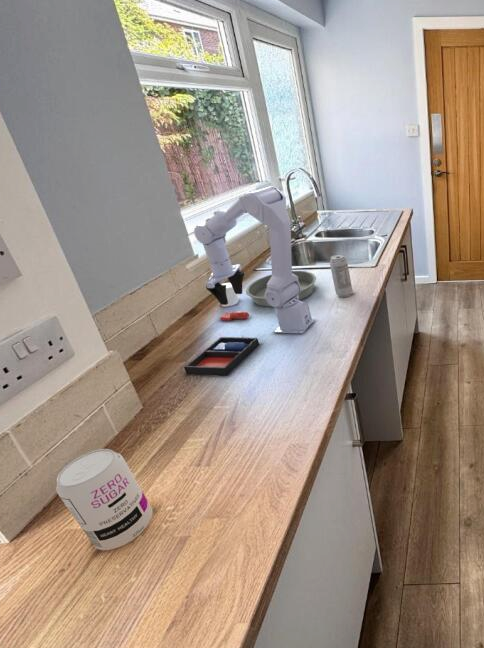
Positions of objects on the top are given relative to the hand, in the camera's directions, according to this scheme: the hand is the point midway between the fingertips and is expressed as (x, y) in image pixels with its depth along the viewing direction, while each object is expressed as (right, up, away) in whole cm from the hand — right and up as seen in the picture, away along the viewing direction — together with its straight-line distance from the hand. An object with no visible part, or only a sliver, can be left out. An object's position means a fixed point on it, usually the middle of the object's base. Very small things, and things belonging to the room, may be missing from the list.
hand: (231, 298), depth 132 cm
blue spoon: (+8, -15, -14) cm, 22 cm away
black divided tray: (+8, -17, -17) cm, 25 cm away
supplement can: (+18, -38, -63) cm, 76 cm away
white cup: (-10, -2, +16) cm, 19 cm away
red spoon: (-1, -7, +5) cm, 8 cm away
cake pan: (+8, +1, +21) cm, 22 cm away
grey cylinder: (+32, +1, +18) cm, 37 cm away
